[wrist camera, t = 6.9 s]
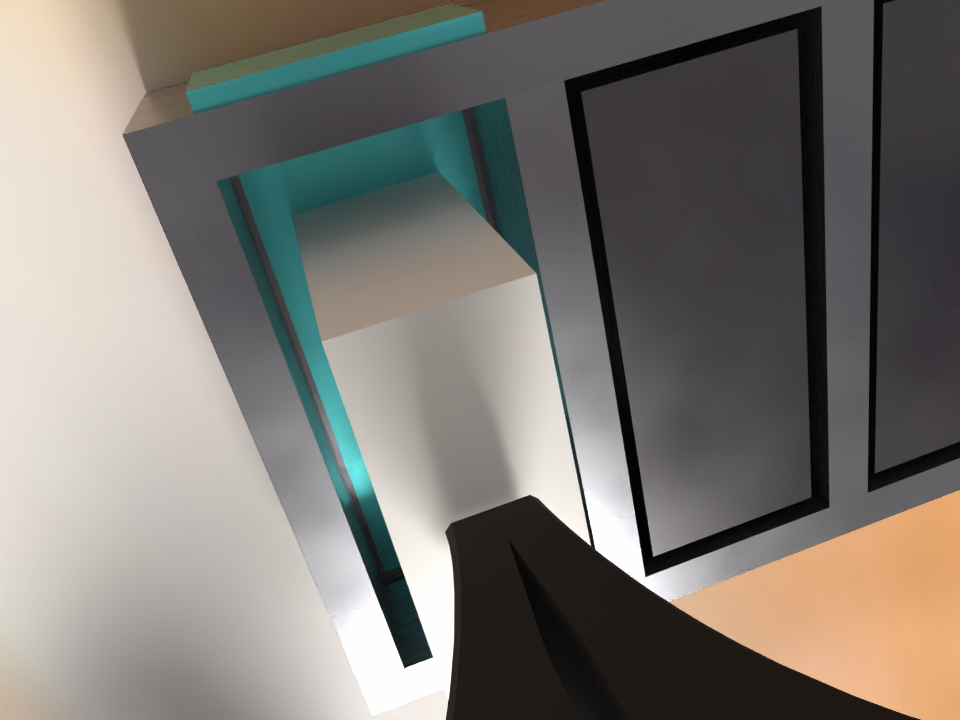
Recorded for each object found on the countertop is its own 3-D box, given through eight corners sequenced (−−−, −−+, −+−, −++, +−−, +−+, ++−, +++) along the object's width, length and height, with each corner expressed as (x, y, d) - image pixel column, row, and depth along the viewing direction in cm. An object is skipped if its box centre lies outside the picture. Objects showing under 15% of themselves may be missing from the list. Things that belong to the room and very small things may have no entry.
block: (438, 171, 16) (536, 273, 11) (516, 486, 20) (615, 670, 15) (290, 215, 16) (321, 341, 11) (398, 527, 20) (460, 732, 15)
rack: (982, -150, 18) (1166, -175, 14) (947, 376, 24) (1068, 448, 21) (139, 77, 15) (113, 113, 12) (349, 593, 22) (372, 715, 18)
